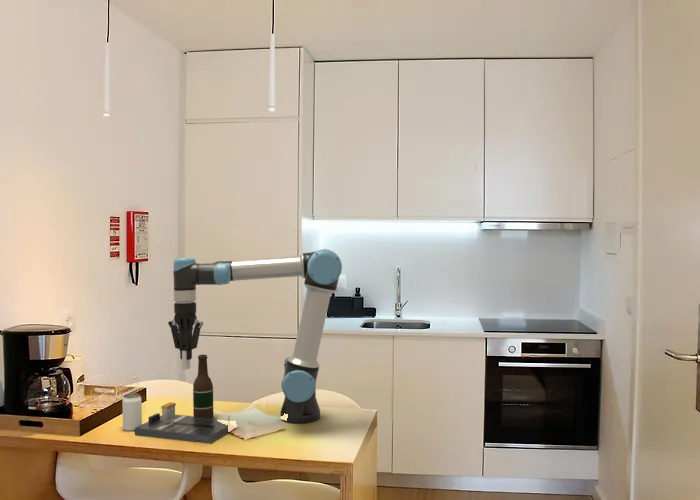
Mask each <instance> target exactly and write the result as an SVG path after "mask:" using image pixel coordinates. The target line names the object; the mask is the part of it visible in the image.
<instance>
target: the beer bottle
mask: <svg viewBox="0 0 700 500" xmlns="http://www.w3.org/2000/svg"><path fill="white" fill-rule="evenodd" d="M197 359H198V365H197V367H198V368H197V376H196V378H195V379H194V381H193V388H192V401H193V402H192V406H193V411H192V412H193V413H192V414H193V416H195V417H205V418H214V385H213V382H212V379H211V378H210V376H209V371H208V355H207V354H198V356H197Z"/></svg>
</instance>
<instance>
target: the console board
mask: <svg viewBox="0 0 700 500" xmlns="http://www.w3.org/2000/svg"><path fill="white" fill-rule="evenodd" d="M147 418H148V421H146V422H145V423H142V425H140V426H138V427H136V428H135V431H134V435H135V436H140V437H141V436H142V437H147V438H157V439H167V440H175V441H183V442H193V443H194V442H195V443H202V444H209V445H210V444H213V443H215V442H216V441H218V440H220V439H221V438H222V437H224V436H225V435H228V434H229V433H228V425H225V424H222V423H220V422H218V421H217V419H218V418H215V417H213V418H205V417H195V416H194V415H183V414H175V420H173V421H171V422H169V423H162V415H161V413H158V412H157V413H154V414H153V415H150V416H148V417H147Z"/></svg>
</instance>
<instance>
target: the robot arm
mask: <svg viewBox="0 0 700 500" xmlns="http://www.w3.org/2000/svg"><path fill="white" fill-rule="evenodd" d="M342 270H343V264H342V261H341V258H340V257H339V255H338V254H337V253H335V252H334V251H333V250H331V249H326V248H324V249H319V250H316V251H310V252H302V253H301V254H300V255H295V256H283V257H282V256H281V257H279V256H278V257H269V258H268V257H267V258H254V259H253V258H252V259H240V260H239V259H238V260H227V261H224V260H221V261H220V260H219V261H215V262H212V263H208V262H207V263H197V262H196V258H193V257H179V258H175V259H174V260H173V271H172V273H173V301H174V302H175V303H174V304H173V309H174V310H173V313H174V316H173V319H172V320H171V321H170V320H169V321H168V322H167V324H168V326H169V328H170V330H171V331H170V332H171V334H172V339H173V344H174V348H175V349H178V350H179V354H180V357H179V359H180V360H182V361H181V365H182V367H181V368H182V370H185V371H186V370H188V369H191V360H192V358H193V350H194V349H197V347H198V343H199V339H200V335H201V329H202V326H204V322H203V321H200V320H198V317H197V315H196V314H197V302H196V300H197V287H196V286H200V285H201V286H202V285H205V286H206V285H207V286H208V285H209V286H213V285H214V286H215V285H216V286H221V285H222V286H223V285H228V284H230V282H234V281H248V280H249V281H250V280H252V281H253V280H264V279H265V280H266V279H278V278H279V279H281V278H282V279H283V278H296V277H300V278H301V277H302V279H304V282H303V284H304V285H303V286H305V288H306V294H305V298H304V303H303V307H302V310H301V311H302V312H301V317H300V321H299V324H298V325H299V326H298V330H297V334H296V338H295V344H294V347H293V352H292V355H291V356H289V357H286V358H285V359H284V363H283V366H284V375H283V379H282V380H281V390H282V392H283V395H284V399H283V402H282V405H281V410H280V414H279V415H280V416H283V415H284V413H285V414H288V418H287V422H286V423H291V424H307V423H312V422H316V421H318V420H319V419H320V418H321V409H320V406H319V402H318V400H317V395H316V387H317V379H318V374H319V369H320V364H319V362H318V360H317V359H318V354H319V349H320V345H321V342H322V337H323V332H324V329H325V328H324V327H325V322H326V319H327V318H326V317H327V314H328V309H329V306H330V299H331V296H332V294H334V293H335V292H337V288H338V283H339V279H340V276H341V274H342Z"/></svg>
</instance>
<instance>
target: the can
mask: <svg viewBox="0 0 700 500" xmlns="http://www.w3.org/2000/svg"><path fill="white" fill-rule="evenodd" d="M142 400H143V399H142V397H141V394H140V393H137V392H136V393H133V392H132V393H126V394H125V395H123V398H122V428H123V430H124V431H126V432H135V428H136V427H138V426H140V425H142V424H143V413H142V412H143V407H142Z"/></svg>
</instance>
